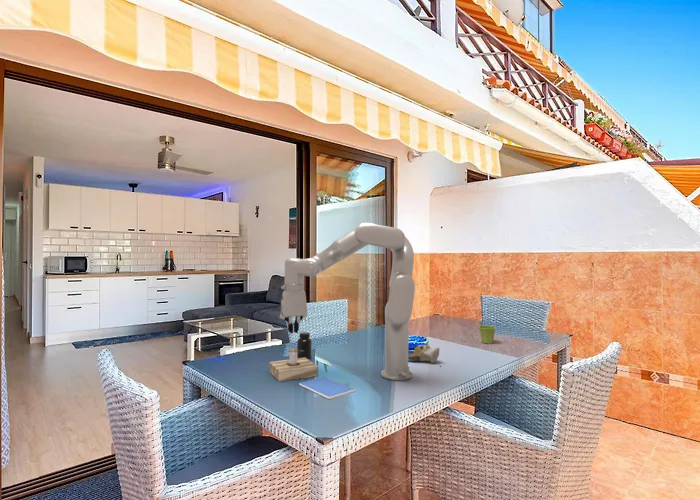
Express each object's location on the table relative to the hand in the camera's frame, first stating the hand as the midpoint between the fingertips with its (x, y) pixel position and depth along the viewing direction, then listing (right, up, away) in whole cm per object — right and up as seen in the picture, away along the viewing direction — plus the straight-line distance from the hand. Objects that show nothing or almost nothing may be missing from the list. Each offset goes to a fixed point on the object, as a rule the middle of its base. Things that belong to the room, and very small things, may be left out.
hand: (293, 332), depth 159 cm
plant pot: (+100, -18, +57) cm, 116 cm away
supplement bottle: (+2, -17, +22) cm, 28 cm away
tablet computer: (+15, -18, -16) cm, 28 cm away
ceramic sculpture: (+58, -18, +20) cm, 63 cm away
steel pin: (0, -17, 0) cm, 17 cm away
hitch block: (0, -17, 0) cm, 17 cm away
